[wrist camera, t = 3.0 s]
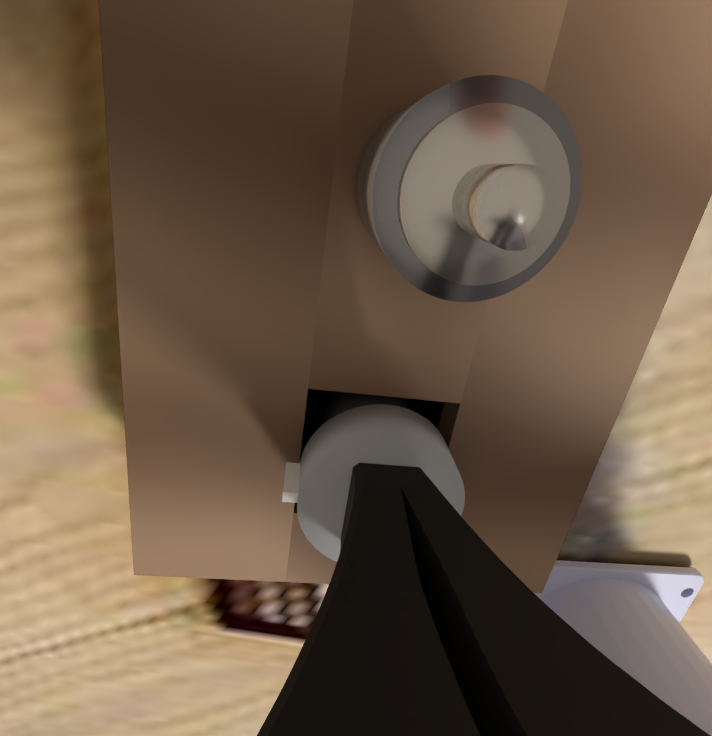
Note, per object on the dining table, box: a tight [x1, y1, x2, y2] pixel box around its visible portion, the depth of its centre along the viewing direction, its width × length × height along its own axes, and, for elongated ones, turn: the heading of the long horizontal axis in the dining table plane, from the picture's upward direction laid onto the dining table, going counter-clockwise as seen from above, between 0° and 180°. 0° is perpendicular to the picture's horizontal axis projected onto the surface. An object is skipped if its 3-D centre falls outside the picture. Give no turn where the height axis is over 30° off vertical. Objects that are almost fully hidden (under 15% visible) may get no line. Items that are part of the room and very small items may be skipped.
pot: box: [355, 75, 582, 302], centre depth 6 cm, size 3×3×4 cm
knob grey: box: [282, 390, 465, 562], centre depth 12 cm, size 3×4×5 cm
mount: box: [99, 0, 712, 593], centre depth 10 cm, size 20×11×4 cm, turn 172°
